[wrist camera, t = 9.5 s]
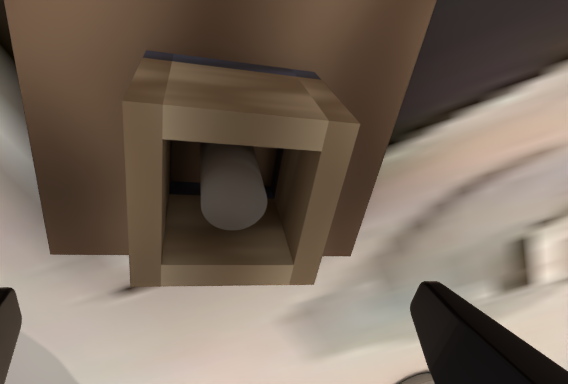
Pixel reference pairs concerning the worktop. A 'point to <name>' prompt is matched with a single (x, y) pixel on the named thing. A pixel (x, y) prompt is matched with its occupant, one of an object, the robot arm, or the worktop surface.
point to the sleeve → (236, 131)
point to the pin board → (186, 154)
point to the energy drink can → (420, 379)
